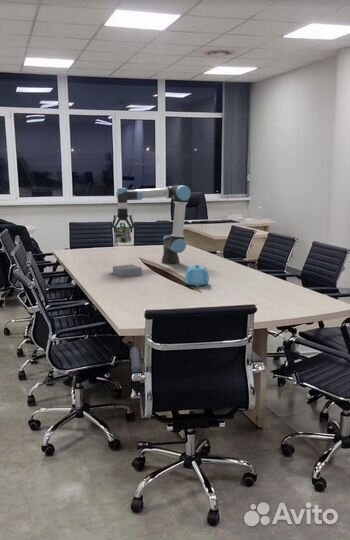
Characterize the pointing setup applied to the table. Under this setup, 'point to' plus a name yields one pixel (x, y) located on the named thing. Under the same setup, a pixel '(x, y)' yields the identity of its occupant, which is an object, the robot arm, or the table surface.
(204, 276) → the decorative pot
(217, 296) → the table surface
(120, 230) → the chalk box
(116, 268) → the grey base brick
